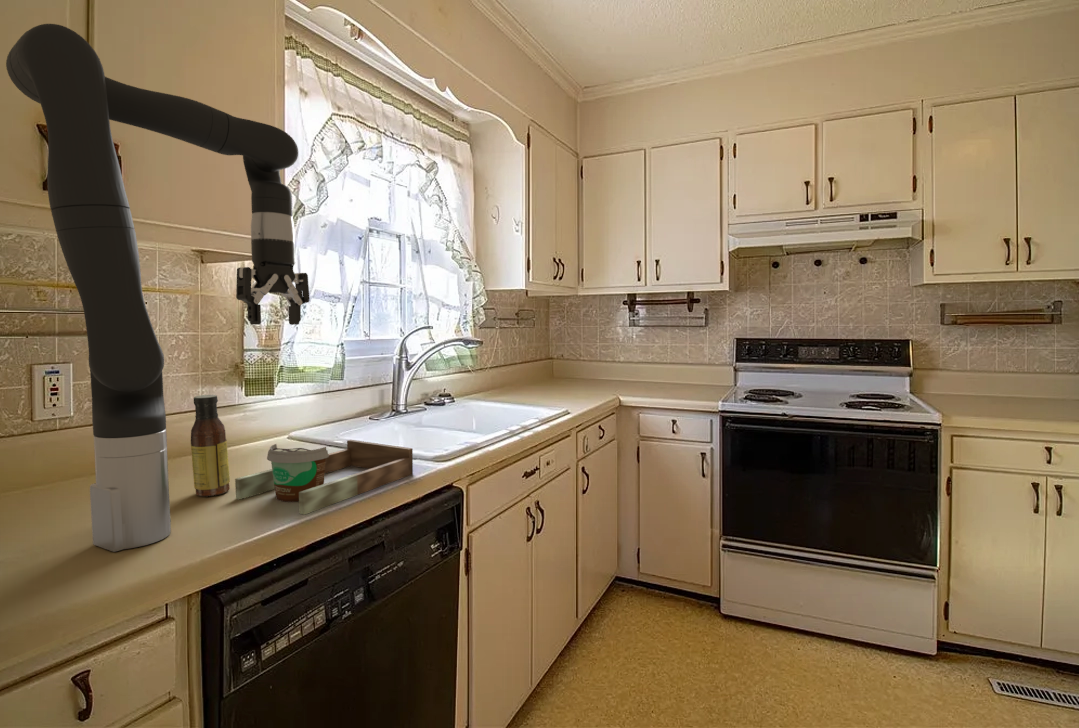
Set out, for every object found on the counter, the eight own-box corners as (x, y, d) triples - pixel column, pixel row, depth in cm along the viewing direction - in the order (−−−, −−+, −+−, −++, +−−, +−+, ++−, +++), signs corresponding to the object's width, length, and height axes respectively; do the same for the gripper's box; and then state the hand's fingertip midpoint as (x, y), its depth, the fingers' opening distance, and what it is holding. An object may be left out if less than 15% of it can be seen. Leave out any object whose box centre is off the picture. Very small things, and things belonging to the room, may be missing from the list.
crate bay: (303, 514, 99) (303, 482, 99) (235, 498, 108) (234, 468, 107) (412, 474, 126) (412, 448, 126) (351, 463, 134) (350, 439, 134)
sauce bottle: (222, 486, 116) (219, 392, 114) (235, 492, 112) (232, 395, 110) (187, 493, 111) (183, 395, 109) (199, 500, 107) (195, 398, 105)
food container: (253, 501, 106) (252, 450, 106) (275, 491, 112) (273, 443, 112) (310, 506, 104) (309, 454, 103) (329, 496, 110) (328, 446, 109)
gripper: (252, 233, 97) (255, 324, 99) (317, 243, 110) (319, 324, 111) (225, 235, 101) (228, 324, 102) (291, 245, 113) (293, 324, 115)
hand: (275, 324), depth 107 cm, fingers open, 8 cm apart
